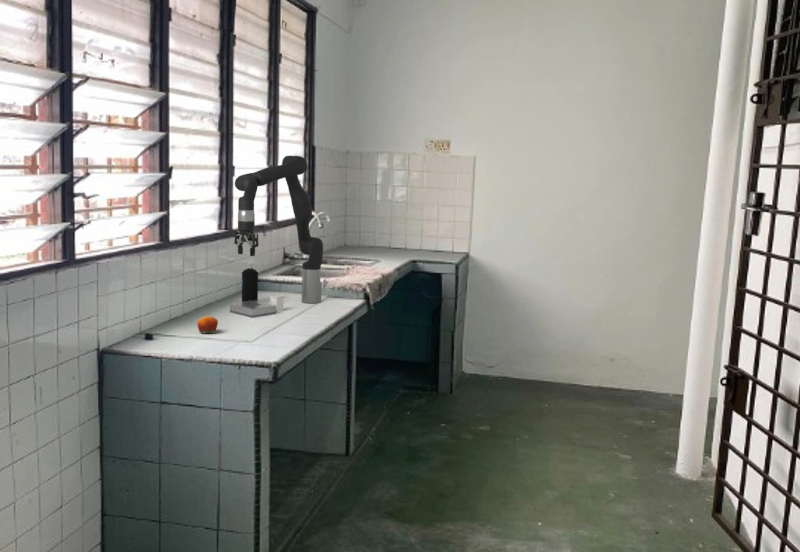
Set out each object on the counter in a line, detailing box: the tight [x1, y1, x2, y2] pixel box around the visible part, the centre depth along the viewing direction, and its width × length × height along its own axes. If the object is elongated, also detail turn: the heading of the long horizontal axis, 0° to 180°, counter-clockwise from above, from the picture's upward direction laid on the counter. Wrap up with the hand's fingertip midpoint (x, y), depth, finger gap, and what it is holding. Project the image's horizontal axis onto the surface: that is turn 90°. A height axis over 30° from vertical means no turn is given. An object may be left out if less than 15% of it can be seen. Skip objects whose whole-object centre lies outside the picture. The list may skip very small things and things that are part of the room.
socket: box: [229, 300, 277, 319], centre depth 335 cm, size 14×16×5 cm
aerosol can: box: [241, 263, 259, 302], centre depth 354 cm, size 8×8×20 cm
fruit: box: [196, 315, 219, 335], centre depth 293 cm, size 8×8×8 cm
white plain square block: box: [269, 294, 285, 313], centre depth 343 cm, size 4×4×7 cm
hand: (246, 255), depth 331 cm, fingers open, 8 cm apart
